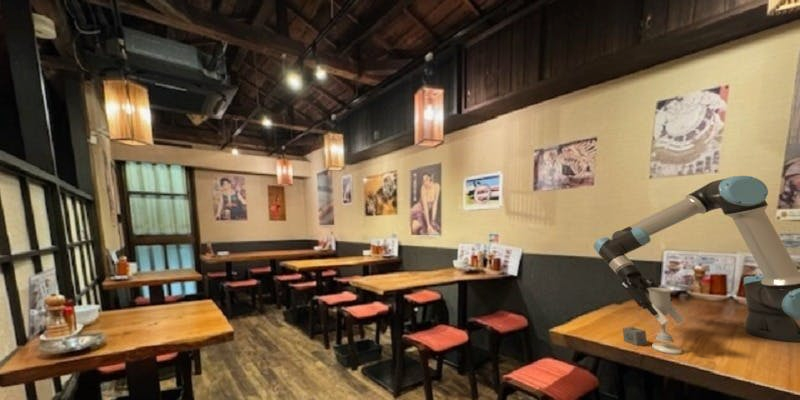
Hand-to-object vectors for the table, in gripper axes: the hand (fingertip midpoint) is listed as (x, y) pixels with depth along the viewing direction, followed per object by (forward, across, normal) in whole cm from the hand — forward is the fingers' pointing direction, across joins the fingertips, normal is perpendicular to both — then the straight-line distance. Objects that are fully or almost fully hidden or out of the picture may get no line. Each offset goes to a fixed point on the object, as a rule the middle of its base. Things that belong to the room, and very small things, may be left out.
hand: (673, 321), depth 105 cm
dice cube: (0, +4, -16) cm, 17 cm away
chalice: (+3, 0, -8) cm, 8 cm away
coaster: (+5, 0, -10) cm, 12 cm away
